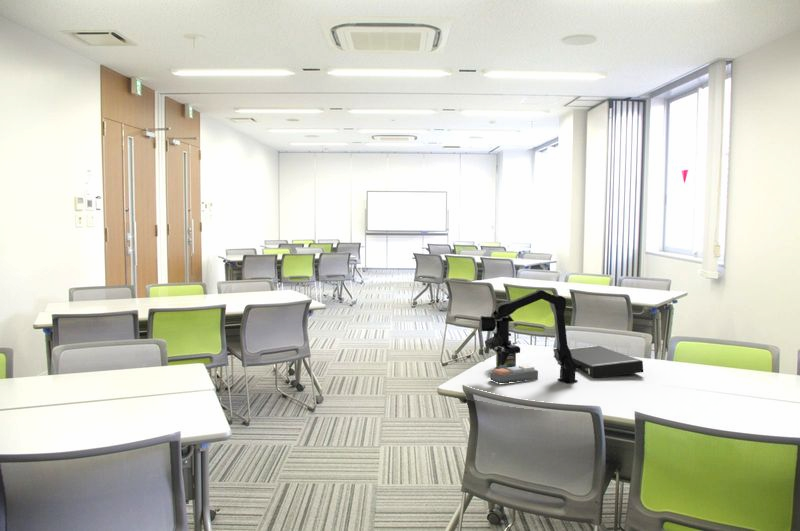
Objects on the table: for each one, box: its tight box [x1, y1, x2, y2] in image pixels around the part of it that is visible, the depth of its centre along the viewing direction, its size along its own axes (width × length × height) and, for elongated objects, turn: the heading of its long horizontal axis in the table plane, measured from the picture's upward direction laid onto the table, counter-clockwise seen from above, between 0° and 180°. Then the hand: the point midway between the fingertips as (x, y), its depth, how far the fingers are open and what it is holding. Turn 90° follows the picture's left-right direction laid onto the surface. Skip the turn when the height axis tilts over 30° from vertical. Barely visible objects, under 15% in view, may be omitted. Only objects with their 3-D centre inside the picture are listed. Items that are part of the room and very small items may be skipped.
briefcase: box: [569, 345, 644, 379], centre depth 285 cm, size 45×6×30 cm
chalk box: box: [495, 339, 517, 369], centre depth 277 cm, size 9×9×15 cm
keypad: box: [489, 368, 539, 383], centre depth 258 cm, size 7×21×4 cm, turn 116°
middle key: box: [507, 366, 522, 374], centre depth 258 cm, size 5×5×2 cm
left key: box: [493, 368, 510, 376], centre depth 255 cm, size 5×5×2 cm
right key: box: [518, 364, 535, 372], centre depth 261 cm, size 5×5×2 cm
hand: (502, 365), depth 255 cm, fingers closed
